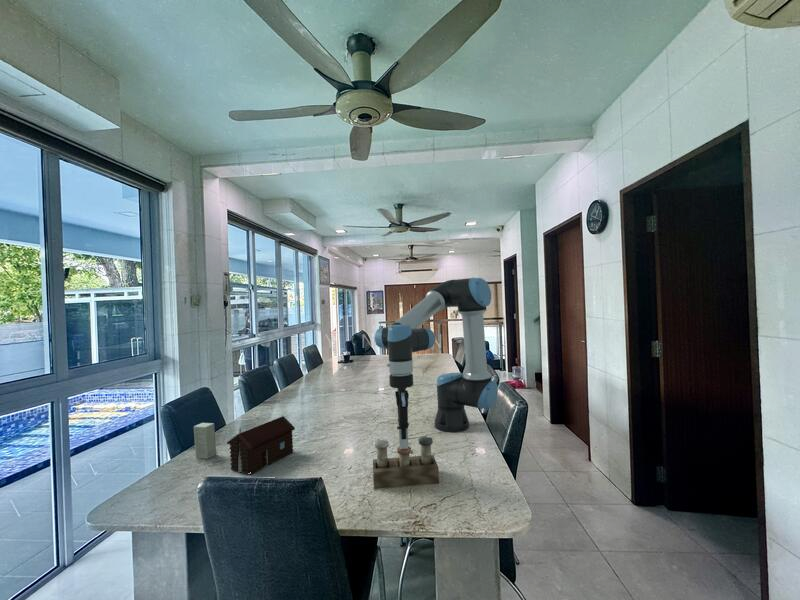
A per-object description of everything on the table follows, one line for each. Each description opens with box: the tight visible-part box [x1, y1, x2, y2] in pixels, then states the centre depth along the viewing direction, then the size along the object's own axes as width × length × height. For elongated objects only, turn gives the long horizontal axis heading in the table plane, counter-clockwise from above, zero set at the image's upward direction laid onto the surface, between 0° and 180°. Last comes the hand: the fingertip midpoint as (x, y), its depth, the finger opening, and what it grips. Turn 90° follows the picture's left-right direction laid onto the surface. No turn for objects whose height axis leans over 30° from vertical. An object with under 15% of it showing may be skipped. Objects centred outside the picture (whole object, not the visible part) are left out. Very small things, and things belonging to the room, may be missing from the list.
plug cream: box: [374, 439, 390, 468], centre depth 115 cm, size 4×4×8 cm
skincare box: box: [193, 422, 217, 460], centre depth 139 cm, size 6×4×12 cm
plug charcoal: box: [418, 436, 433, 465], centre depth 116 cm, size 4×4×8 cm
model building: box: [226, 415, 296, 474], centre depth 133 cm, size 21×12×15 cm, turn 152°
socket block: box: [372, 454, 440, 490], centre depth 115 cm, size 20×9×5 cm, turn 95°
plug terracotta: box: [396, 445, 412, 467], centre depth 115 cm, size 4×4×8 cm
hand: (403, 447), depth 115 cm, fingers closed
